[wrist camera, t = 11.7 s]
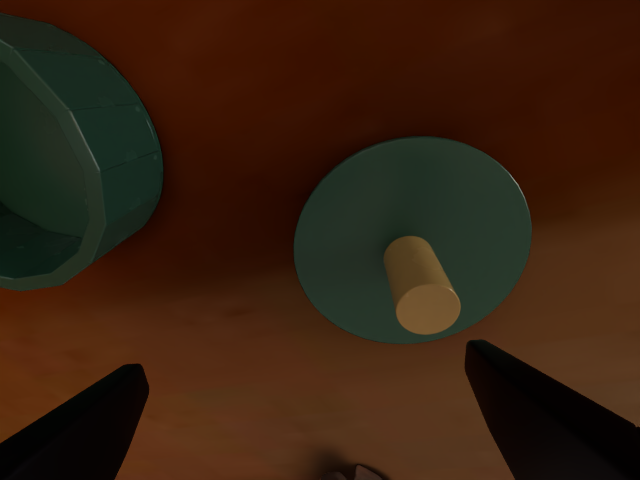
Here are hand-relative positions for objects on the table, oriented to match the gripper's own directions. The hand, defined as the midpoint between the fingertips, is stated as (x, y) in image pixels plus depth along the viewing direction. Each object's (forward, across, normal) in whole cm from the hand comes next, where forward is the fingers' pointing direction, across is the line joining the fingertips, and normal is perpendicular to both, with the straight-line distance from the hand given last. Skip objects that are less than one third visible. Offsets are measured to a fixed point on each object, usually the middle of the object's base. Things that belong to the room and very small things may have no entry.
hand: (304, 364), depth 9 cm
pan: (+11, +13, -6) cm, 18 cm away
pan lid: (+9, -5, +1) cm, 11 cm away
